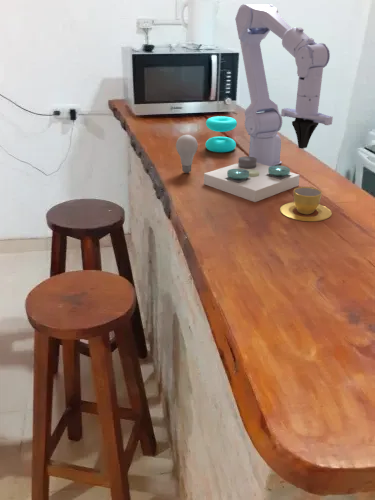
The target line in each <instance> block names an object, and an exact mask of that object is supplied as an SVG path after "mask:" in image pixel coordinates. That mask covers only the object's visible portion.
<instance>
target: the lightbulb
mask: <svg viewBox="0 0 375 500" xmlns="http://www.w3.org/2000/svg"><path fill="white" fill-rule="evenodd" d="M198 146H199V144H198V141H197V139H196V137H195V136H193V135H191V134H183V135H181V136H179V137H178V139H177V140H176V143H175V149H176V151H177V153H178V155H179V157H180V163H181V169H182V172H184V173H185V174H189V173H190V172H191V171H192V165H193V160H194V156H195V154H196V153H197V150H198V148H199V147H198Z"/></svg>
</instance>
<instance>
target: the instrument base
mask: <svg viewBox="0 0 375 500" xmlns="http://www.w3.org/2000/svg"><path fill="white" fill-rule="evenodd" d="M269 167H271V166H267V165H264V164H260V163H257V159H256V158H254V157H249V155H248V156H241V157H238V163H237V162H236V163H234V164H231V165H228V166H223V167H220V168H218V169H217V168H216V169H215V170H211V171H208V172H203V185H206V186H208V187H211V188H214V189H217V190H219V191H223V192H225V193H229V194H230V195H234V196H236V197H239V198H242V199H245V200H248V201H250V202H252V203H253V202H254V203H257V202H259V201H262V200H264V199H267V198H270V197H273V196H274V195H277V194H279V193H283V192H285V191H288V190H291V189H293V188H297V187H300V186H299V185H300V174H297V173H294V172H291V171H290V174H288V175H286V178H284V179H281V180H279V179H276V178H273V177H271V174H269V173H268V169H269ZM230 169H245V170H247V171H249V177H248V178H246V181H244V182H241V183H236V182H233V181H230V178H229V177H228V176H227V171H228V170H230Z"/></svg>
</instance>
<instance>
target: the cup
mask: <svg viewBox="0 0 375 500" xmlns="http://www.w3.org/2000/svg"><path fill="white" fill-rule="evenodd" d="M322 195H323V192H322V190H321V189H319V188H316V187H312V186H297V187H294V189H293V201H291V202H287V203H285V204H283V205H281V206H280V208H279V212H280V213H281V214H282V215H283V216H285V217H287V218H289V219H293V220H296V221H302V222H321V221H324V220H327V219H329V218H330V217H332V214H333V213H332V210H330V209H329V207H326V206H324V205H323V204H320V203H321V199H322ZM294 209H296V210H297V212H298V213H299V214H301V215H299V214H296V213H294V212H293V211H294ZM315 211H316V212H318V214H316V215H313V216H302V215H311V214H313V213H314V212H315Z"/></svg>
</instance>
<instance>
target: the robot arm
mask: <svg viewBox="0 0 375 500" xmlns="http://www.w3.org/2000/svg"><path fill="white" fill-rule="evenodd" d="M235 25H236V30H237V36H238V40H240V41H239V43H240V49H241V53H242V61H243V65H244V71H245V77H246V82H247V87H248V92H249V93H248V94H249V99H250V104H249V106H247V108H246V109H245V110H244V117H245V118H244V129H245V131H246V132H247V135H248V136H249V152H248V153H249V154H248V157H254V158H256V159H257V163H260V164H264V165H267V166H279V165H280V164H281V165H282V164H283V161H281V150H282V139H281V137H280V135H279V134H278V132H279V131H280V130H281V129H282V126H283V118H284V117H287V118H293V119H294V120H293V121H291V125H292V126H293V129H294V131H295V135H296V140H297V146H298V149H303V150H304V149H307V148H308V145H309V142H310V140H311V137H312V135H313V134H314V131H315V130H316V128H317V127H318V126H319V124H322V125H323V126H330V125H332V124H333V119H334V118H333V116H332V115H331V116H330V115H329V114H324V113H320V112H319V106H320V97H321V90H322V81H323V72H324V68H325V67H327V65H328V64H329V61H330V58H331V57H330V56H331V55H330V54H331V52H330V49H329V48H328V46H327V45H326V44H325V43H323V42H321V43H317V42H315V39H313V38H312V37H310V36H309V35H307V34H306V33H305V32H304V28H303V27H295V26H294V27H291V26H290V25H289V24H288V22H287V21H286V20H285V19H284V18H283V17H282V16H281V14H279V10H278V8H277V7H275V5H274V4H271V3H267V4H247V3H243V4H242V5H240V6H239V8H238V10H237V13H236V15H235ZM270 32H271V33H273V34H275V35H276V36H277V37H278V38H280V39H281V45H282V47H283V48H284V49H285V50H286V51H287V52H288V53H289V54H290V55H292V57H294V59H295V65H296V70H297V71H296V74H297V76H298V81H297V91H296V100H295V101H296V102H295V108H290V107H284V108H281V113H280V111H279V107H278V104H276V102H274V101H273V100H272V99H270V95H269V94H270V93H269V87H268V82H267V78H266V77H267V76H266V72H265V66H264V60H263V59H264V58H263V55H262V49H261V43H262V40H264V39H266V37H267V35H269V33H270ZM282 117H283V118H282Z"/></svg>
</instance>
